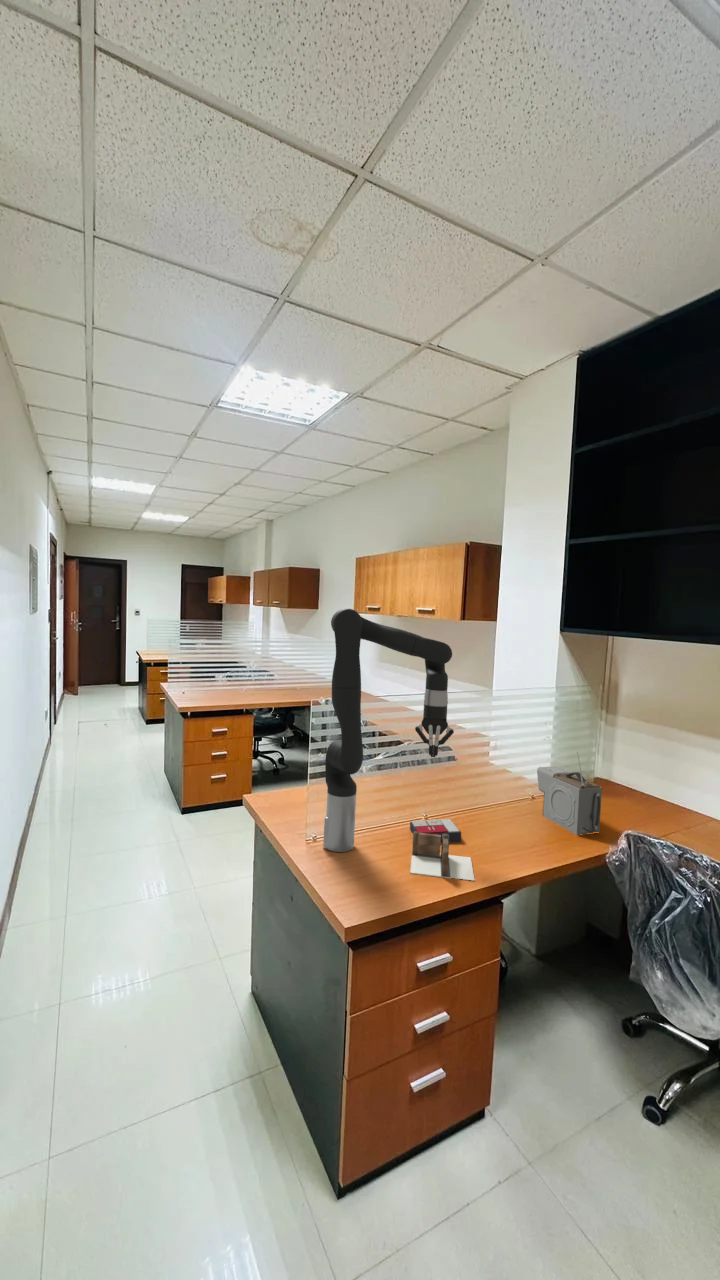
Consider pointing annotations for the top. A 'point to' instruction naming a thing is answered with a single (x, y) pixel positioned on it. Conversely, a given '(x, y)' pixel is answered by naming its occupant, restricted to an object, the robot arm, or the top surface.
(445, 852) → the panel
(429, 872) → the card
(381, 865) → the top surface
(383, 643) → the robot arm
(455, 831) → the calculator
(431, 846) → the fence fixed section
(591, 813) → the portable television
